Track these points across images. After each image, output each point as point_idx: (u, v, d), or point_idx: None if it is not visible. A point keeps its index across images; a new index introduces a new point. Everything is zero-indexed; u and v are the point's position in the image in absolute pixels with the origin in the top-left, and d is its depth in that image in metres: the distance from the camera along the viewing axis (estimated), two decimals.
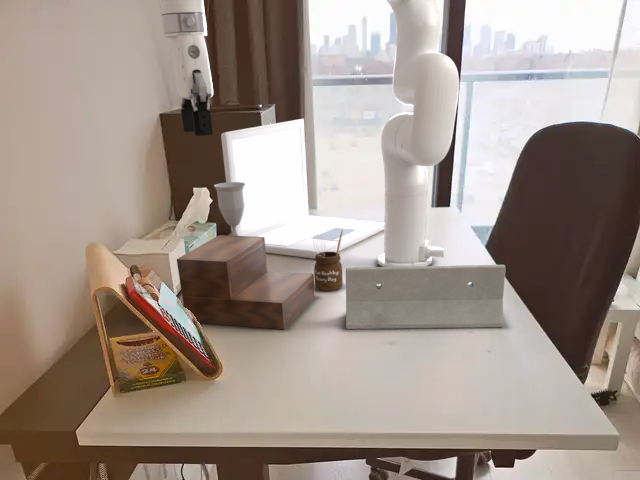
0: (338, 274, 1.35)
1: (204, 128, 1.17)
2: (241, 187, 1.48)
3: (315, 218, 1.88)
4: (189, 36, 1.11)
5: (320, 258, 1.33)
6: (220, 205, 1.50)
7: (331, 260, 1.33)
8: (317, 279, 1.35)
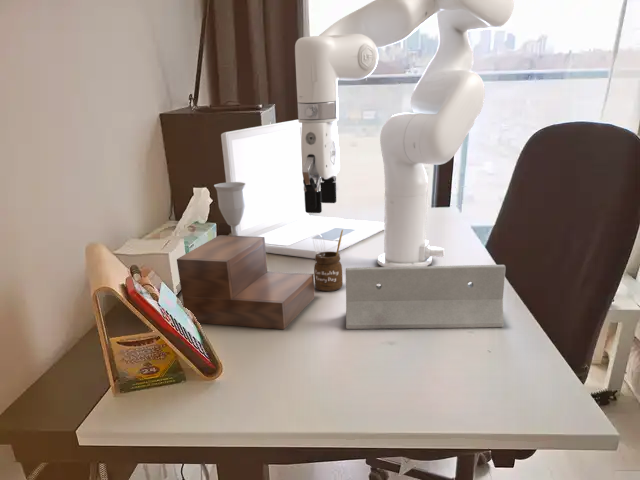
0: (338, 274, 1.35)
1: (311, 207, 1.25)
2: (241, 187, 1.48)
3: (315, 218, 1.88)
4: (309, 124, 1.19)
5: (320, 258, 1.33)
6: (220, 205, 1.50)
7: (331, 260, 1.33)
8: (317, 279, 1.35)
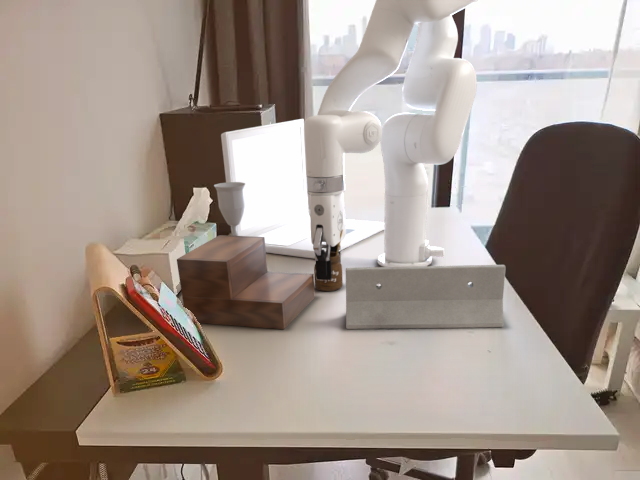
0: (338, 274, 1.35)
1: (322, 274, 1.33)
2: (241, 187, 1.48)
3: None
4: (317, 197, 1.25)
5: None
6: (220, 205, 1.50)
7: (331, 260, 1.33)
8: (317, 279, 1.35)
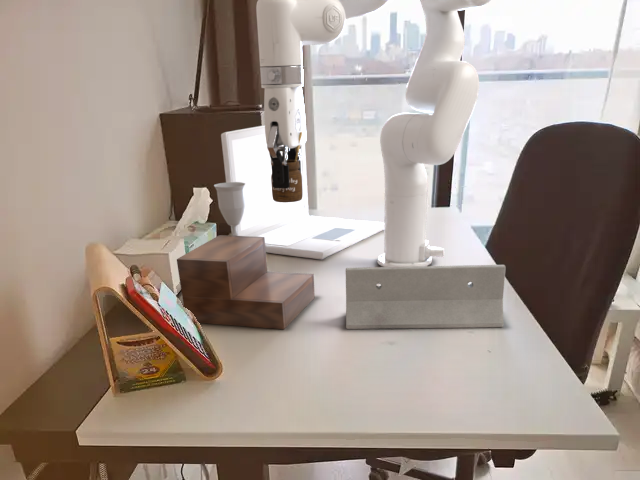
0: (297, 183, 1.22)
1: (279, 182, 1.20)
2: (241, 187, 1.48)
3: (315, 218, 1.88)
4: (271, 89, 1.13)
5: None
6: (220, 205, 1.50)
7: (289, 166, 1.20)
8: (275, 189, 1.23)
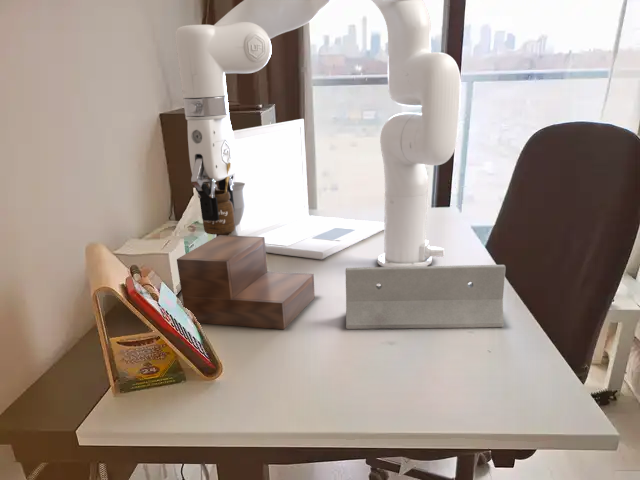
0: (227, 215, 1.19)
1: (207, 214, 1.17)
2: (241, 187, 1.48)
3: (315, 218, 1.88)
4: (194, 121, 1.09)
5: None
6: None
7: (218, 198, 1.17)
8: (205, 221, 1.19)
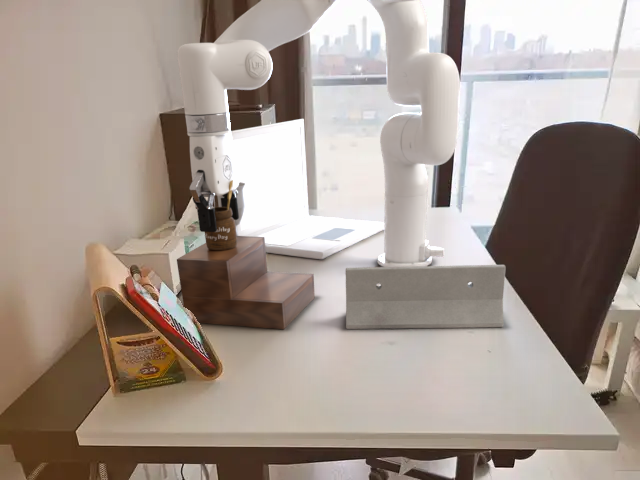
0: (230, 231, 1.20)
1: (205, 225, 1.16)
2: (241, 187, 1.48)
3: (315, 218, 1.88)
4: (196, 138, 1.10)
5: None
6: (220, 205, 1.50)
7: (220, 215, 1.18)
8: (207, 237, 1.21)
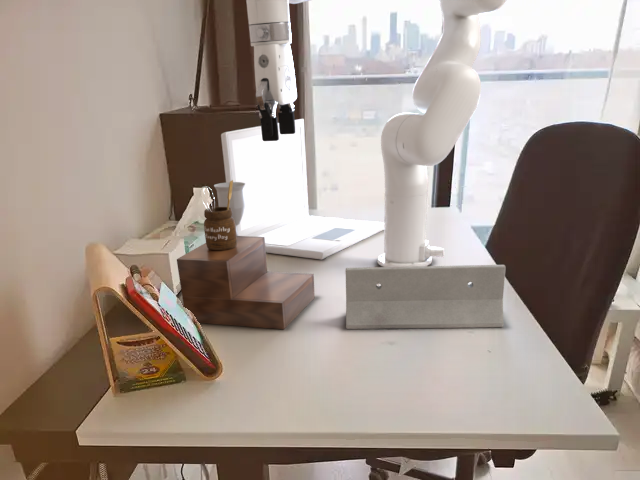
0: (230, 231, 1.20)
1: (268, 134, 1.22)
2: (241, 187, 1.48)
3: (315, 218, 1.88)
4: (261, 46, 1.16)
5: (207, 212, 1.19)
6: (220, 205, 1.50)
7: (220, 215, 1.18)
8: (207, 237, 1.21)
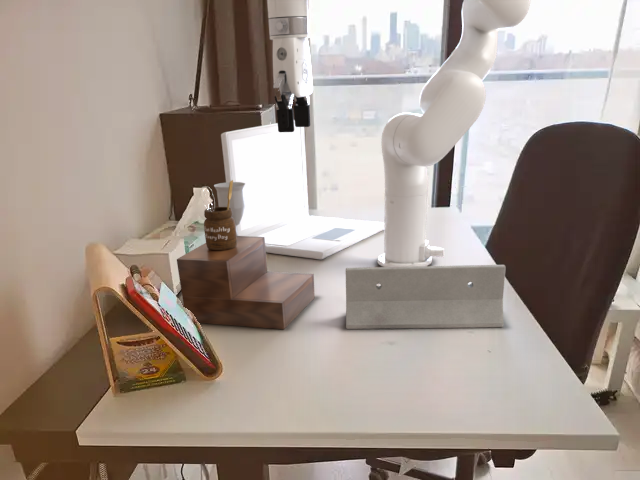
0: (230, 231, 1.20)
1: (284, 125, 1.25)
2: (241, 187, 1.48)
3: (315, 218, 1.88)
4: (279, 39, 1.19)
5: (207, 212, 1.19)
6: (220, 205, 1.50)
7: (220, 215, 1.18)
8: (207, 237, 1.21)
